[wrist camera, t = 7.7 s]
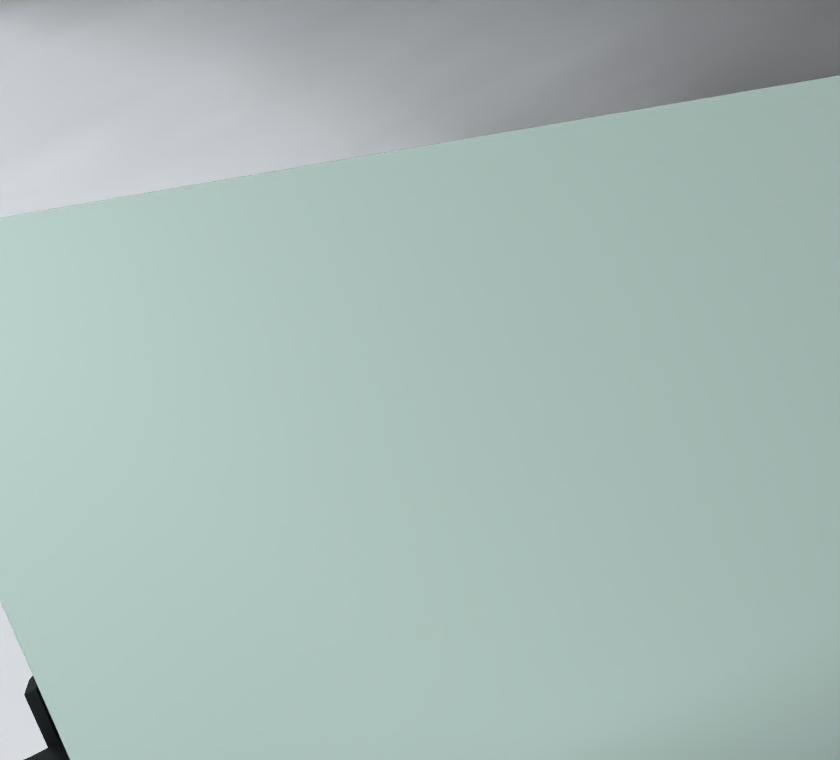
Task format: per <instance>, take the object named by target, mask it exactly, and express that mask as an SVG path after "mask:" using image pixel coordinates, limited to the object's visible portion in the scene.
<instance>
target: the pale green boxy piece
mask: <svg viewBox="0 0 840 760" xmlns="http://www.w3.org/2000/svg"><path fill="white" fill-rule="evenodd" d="M0 601H1V604H2V606H3V608H4V610H5V613H6V615H7V617H8V620H9V622H10V624H11V626H12V629H13V631H14V633H15V635H16V638H17V640H18V642H19V645H20V647H21V649H22V651H23V654H24V656H25V658H26V660H27V663H28V665H29V667H30V670H31V672H32V674H33V676H34V679H35V681H36V683H37V685H38V688H39V690H40V692H41V695H42V697H43V699H44V701H45V704H46V706H47V708H48V710H49V713H50V715H51V717H52V720H53V722H54V724H55V726H56V729H57V731H58V733H59V736H60V738H61V740H62V742H63V745H64V747H65V749H66V751H67V754H68V756H69V758H70V760H840V75H838V76H832V77H826V78H821V79H815V80H809V81H803V82H797V83H791V84H785V85H779V86H773V87H768V88H762V89H756V90H750V91H744V92H738V93H732V94H726V95H720V96H714V97H709V98H703V99H697V100H691V101H685V102H679V103H673V104H667V105H661V106H655V107H650V108H644V109H638V110H632V111H626V112H620V113H614V114H608V115H602V116H597V117H591V118H585V119H579V120H573V121H567V122H561V123H555V124H549V125H543V126H538V127H532V128H526V129H520V130H514V131H508V132H502V133H496V134H490V135H484V136H479V137H473V138H467V139H461V140H455V141H449V142H443V143H437V144H431V145H426V146H420V147H414V148H408V149H402V150H396V151H390V152H384V153H378V154H372V155H367V156H361V157H355V158H349V159H343V160H337V161H331V162H325V163H319V164H313V165H308V166H302V167H296V168H290V169H284V170H278V171H272V172H266V173H260V174H255V175H249V176H243V177H237V178H231V179H225V180H219V181H213V182H207V183H201V184H196V185H190V186H184V187H178V188H172V189H166V190H160V191H154V192H148V193H142V194H137V195H131V196H125V197H119V198H113V199H107V200H101V201H95V202H89V203H84V204H78V205H72V206H66V207H60V208H54V209H48V210H42V211H36V212H30V213H25V214H19V215H13V216H7V217H1V218H0Z"/></svg>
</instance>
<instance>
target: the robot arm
mask: <svg viewBox="0 0 840 760" xmlns="http://www.w3.org/2000/svg"><path fill="white" fill-rule="evenodd" d="M24 695H25V697H26V700H27V702H28V704H29V706H30V708H31V711H32V713H33V715H34V717H35V720H36V722H37V724H38V726H39V728H40V731H41V733H42V735H43V737H44V739H45V742H46V744H47V746H48V748H47V749H45V750H43V751H41V752H39V753H37V754H35V755H33V756H31V757H29V758H27V759H25V760H70V758H69V756H68V754H67V751H66V749H65V747H64V745H63V742H62V740H61V738H60V736H59V733H58V731H57V729H56V726H55V724H54V722H53V720H52V717H51V715H50V713H49V710H48V708H47V706H46V704H45V701H44V699H43V697H42V695H41V692H40V690H39V688H38V685H37V683H36V681H35V679H34V676H32V677H31V679H30V680H29V682H28V685H27V688H26V691H25V694H24Z"/></svg>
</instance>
